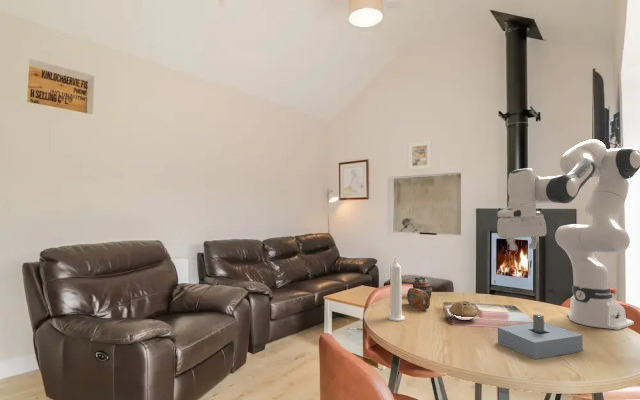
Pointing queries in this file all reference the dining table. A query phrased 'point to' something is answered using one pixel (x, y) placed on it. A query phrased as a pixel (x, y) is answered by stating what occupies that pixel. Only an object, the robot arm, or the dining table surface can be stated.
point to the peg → (538, 324)
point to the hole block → (540, 340)
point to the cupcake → (422, 285)
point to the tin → (418, 299)
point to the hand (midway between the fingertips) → (523, 249)
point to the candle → (396, 292)
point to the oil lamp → (463, 309)
